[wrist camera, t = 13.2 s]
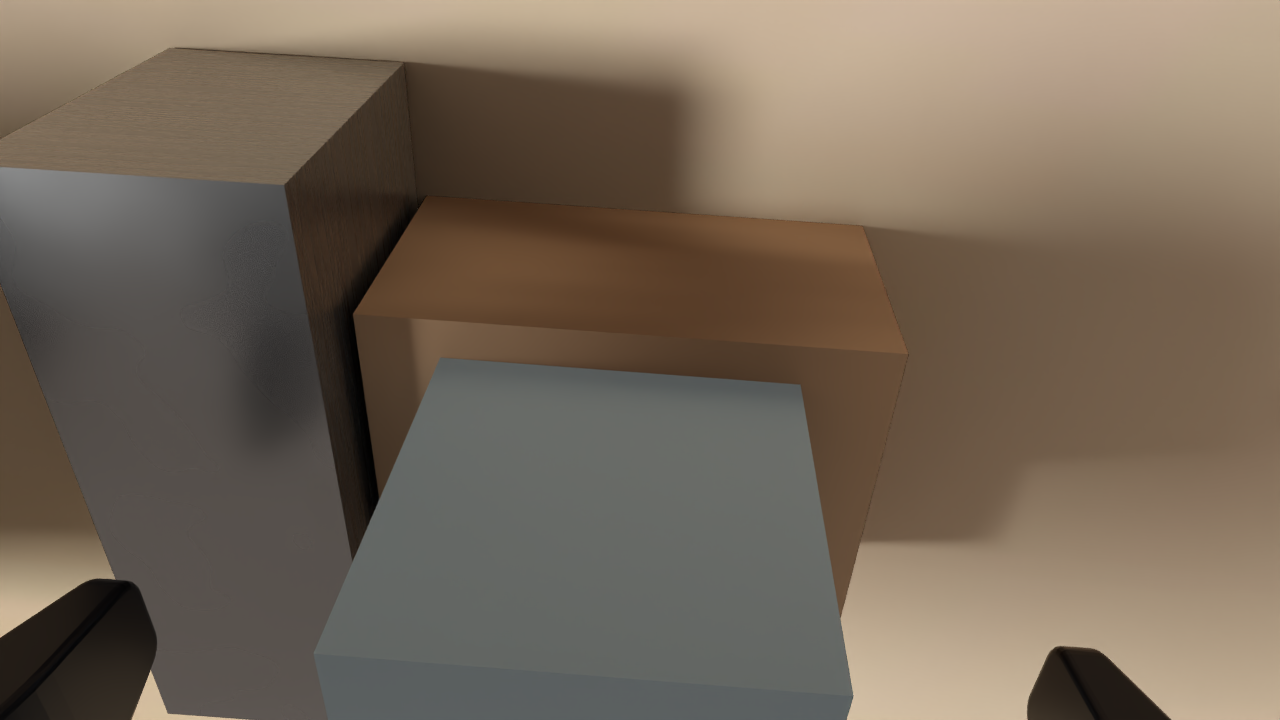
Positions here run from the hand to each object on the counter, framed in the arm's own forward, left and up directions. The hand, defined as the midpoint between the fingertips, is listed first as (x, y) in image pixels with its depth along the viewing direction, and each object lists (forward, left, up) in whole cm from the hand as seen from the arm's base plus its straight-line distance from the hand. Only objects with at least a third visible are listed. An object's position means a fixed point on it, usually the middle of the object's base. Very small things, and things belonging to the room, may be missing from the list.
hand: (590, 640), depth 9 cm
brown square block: (0, -1, -6) cm, 6 cm away
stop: (-4, +2, -6) cm, 7 cm away
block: (0, 0, -2) cm, 2 cm away
